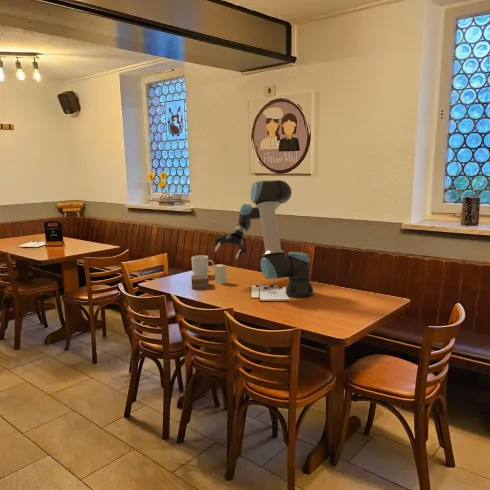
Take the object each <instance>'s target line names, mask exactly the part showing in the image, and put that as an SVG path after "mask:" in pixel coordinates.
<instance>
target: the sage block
mask: <svg viewBox="0 0 490 490" xmlns="http://www.w3.org/2000/svg"><path fill="white" fill-rule="evenodd" d="M227 278H228V277H227V265H225V264H217V265H214V279H215V284H217V285H224V284H227V282H228V281H227V280H228V279H227Z"/></svg>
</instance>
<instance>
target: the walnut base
mask: <svg viewBox="0 0 490 490" xmlns="http://www.w3.org/2000/svg"><path fill="white" fill-rule="evenodd" d="M209 284H210V283H209V274H208V273H207V274H205V275H195V274H191V290H199V289H209V288H210V285H209Z"/></svg>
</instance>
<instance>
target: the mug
mask: <svg viewBox="0 0 490 490" xmlns="http://www.w3.org/2000/svg"><path fill="white" fill-rule="evenodd" d="M209 262H211V264H212V268H211V270H209ZM191 268H192V272H193V275H205V274H208V273H212V272H213V271H214V270H215V263H214V261H213V260H211V259H209V256H208V255H203V254H201V255H193V256H191Z"/></svg>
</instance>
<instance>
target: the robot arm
mask: <svg viewBox="0 0 490 490" xmlns="http://www.w3.org/2000/svg"><path fill="white" fill-rule="evenodd" d="M291 196H292V188H291V186H290V185H289V184H288V183H287V182H286V181H284V180H280V179H278V180H277V179H276V180H259V181H257V180H256V181H254V182H253V183H252V185H251V188H250V200H251V203H253V204H255V206H254V207H253V206H252V205H251V204H248V203H243V204H242V205H241V206H240V209H239V214H238V215H239V216H238V222H237V225H236V226H235V228H234V229H233V231H232V232H231V234H230V235H228V234H227V233H225V234H224V235H222V236H219V237H218V238H216V239H215V242H214V243H215V247H214V252H215V253H216V252H217V251H218V249H220V247H221V245H225V244H231V245H232V244H233V245H236V247H237V248H238V252H237V253H236V255H235V259H236V260H238V258H239V256H242V254H243V253H244V254H246V253H247V245H246V241H247V239H246V240H245V239H244V237H245V236H246V234H247V232H248V231H249V229H250V228H251V226H252V220H260V226H261V232H262V238H263V239H262V241H263V244H264V245H263V246H264V253H263V254H262V258H261V259H260V261H259V262H260V270H261V272H262V275H263V276H264V277H265V278H266V279H267V280H277V279H283V278H284V279H285V278H288V281H287V285H286V288H285V294H287V295H288V296H287V295H286V296H287V297H291V298H297V299H298V298H300V299H301V298H309V297H311V296H313V295H314V288H313V286H312V283H311V260H310V259H311V258H310V255H309V253H305V252H299V251H289V252H288V253H287V255H285V251H284V250H282V246H281V241H280V234H279V228H278V221H277V213H276V210H277V209H279V207H280V206H281V205H282V204H285V203H287V202H288V201H289V200H290V199H291V198H292V197H291ZM243 239H244V240H243Z"/></svg>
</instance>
